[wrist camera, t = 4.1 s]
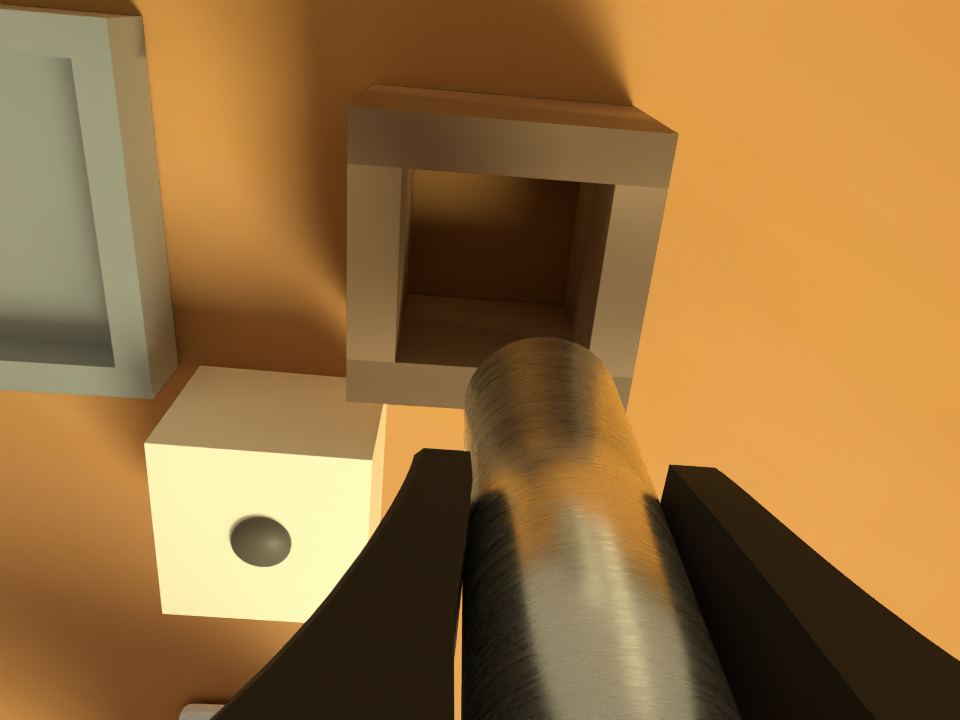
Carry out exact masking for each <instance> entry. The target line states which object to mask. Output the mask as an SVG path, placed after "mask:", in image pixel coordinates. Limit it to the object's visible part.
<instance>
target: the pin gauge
mask: <svg viewBox="0 0 960 720" xmlns="http://www.w3.org/2000/svg"><path fill="white" fill-rule="evenodd" d="M464 451H470V452H471V462H472V476H473V482H472V492H471V502H470V512H469V521H468V531H467V541H466V551H465V560H464V569H463V582H462V693H461V720H742V719H741V716H740V714H739V711H738V709H737V706H736V703H735V701H734V698H733V695H732V693H731V690H730V687H729V685H728V682H727V679H726V677H725V674H724V672H723V669H722V666H721V664H720V661H719V658H718V656H717V653H716V650H715V648H714V645H713V642H712V640H711V637H710V635H709V632H708V629H707V627H706V624H705V621H704V619H703V616H702V613H701V611H700V608H699V605H698V603H697V600H696V597H695V595H694V592H693V590H692V587H691V584H690V582H689V579H688V576H687V574H686V571H685V568H684V566H683V563H682V560H681V558H680V555H679V553H678V550H677V547H676V545H675V542H674V539H673V537H672V534H671V531H670V529H669V526H668V523H667V521H666V518H665V516H664V513H663V510H662V508H661V505H660V502H659V500H658V497H657V494H656V492H655V489H654V486H653V484H652V481H651V479H650V476H649V473H648V471H647V468H646V465H645V463H644V460H643V457H642V455H641V452H640V449H639V447H638V444H637V441H636V439H635V436H634V434H633V431H632V428H631V426H630V423H629V420H628V418H627V415H626V412H625V410H624V407H623V404H622V402H621V399H620V397H619V394H618V391H617V389H616V386H615V383H614V381H613V378H612V376H611V374H610V372H609V371H608V369H607V367H606V366H605V365H604V363H603V362H602V361H601V360H600V359H599V358H598V357H597V356H596V355H595V354H594V353H592V352H591V351H590V350H588V349H587V348H585V347H583V346H581V345H579V344H577V343H575V342H572V341H569V340H566V339H561V338H556V337H533V338H526V339H522V340H519V341H515V342H513V343H510V344H508V345H506V346H504V347H502V348H500V349H498V350H497V351H495V352H494V353H493V354H491V355H490V356H489V357H488V358H487V359H485V360H484V361H483V362H482V363H481V365H480V366H479V367H478V368H477V370H476V371H475V373H474V374H473V376H472V378H471V379H470V382H469V384H468V387H467V390H466V394H465V401H464Z"/></svg>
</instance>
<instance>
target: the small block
mask: <svg viewBox="0 0 960 720" xmlns="http://www.w3.org/2000/svg"><path fill="white" fill-rule="evenodd" d="M386 409H387V404H376V403H360V402H346V377H333V376H321V375H309V374H297V373H285V372H273V371H261V370H249V369H237V368H225V367H213V366H201V365H200V366H199V368H198V369H197V370H196V372H195V373H194V375H193V376H192V377H191V379H190V380H189V382H188V383H187V384H186V386H185V387H184V388H183V390H182V391H181V393H180V394H179V395H178V397H177V398H176V400H175V401H174V402H173V404H172V405H171V407H170V408H169V409H168V411H167V412H166V413H165V415H164V416H163V418H162V419H161V420H160V422H159V423H158V425H157V426H156V427H155V429H154V430H153V431H152V433H151V434H150V436H149V437H148V438H147V440H146V441H145V443H144V447H145V456H146V465H147V475H148V484H149V494H150V503H151V512H152V522H153V531H154V540H155V550H156V559H157V568H158V578H159V587H160V596H161V606H162V614H175V615H191V616H207V617H223V618H239V619H255V620H271V621H287V622H303V623H305V622H306V621H307V620H308V619H309V618H310V616H311V615H312V614H313V613H314V612H315V611H316V609H317V608H318V607H319V606H320V605H321V603H322V602H323V601H324V600H325V599H326V597H327V596H328V595H329V594H330V592H331V591H332V590H333V588H334V587H335V586H336V584H337V583H338V582H339V580H340V579H341V578H342V576H343V575H344V574H345V572H346V571H347V570H348V568H349V567H350V566H351V565H352V563H353V562H354V561H355V559H356V558H357V557H358V555H359V554H360V553H361V551H362V550H363V548H364V547H365V545H366V544H367V542H368V541H369V539H370V538H371V536H372V535H373V533H374V532H375V530H376V528H377V527H378V525H379V524H380V517H381V499H382V481H383V463H384V445H385V427H386Z"/></svg>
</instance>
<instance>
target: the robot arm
mask: <svg viewBox="0 0 960 720" xmlns="http://www.w3.org/2000/svg"><path fill="white" fill-rule="evenodd" d="M472 482H473V476H472V462H471V452H470V451H458V450H443V449H428V448H423V449H422V450H421V451H419V452H418V453H416V454H415V455H414V458H413V461H412V464H411V467H410V469H409V472H408V474H407V476H406V478H405V481H404V483H403V485H402V486H401V488H400V490H399V492H398V494H397V496H396V497H395V499H394V501H393V503H392V505H391V506H390V508H389V510H388V511H387V513H386V514H385V516H384V518H383V519H382V521H381V522H380V524H379V525H378V527H377V528H376V530H375V532H374V533H373V535H372V536H371V538H370V539H369V541H368V542H367V544H366V545H365V547H364V548H363V550H362V551H361V553H360V554H359V555H358V557H357V558H356V559H355V561H354V562H353V563H352V565H351V566H350V567H349V568H348V570H347V571H346V572H345V574H344V575H343V576H342V578H341V579H340V580H339V582H338V583H337V584H336V586H335V587H334V588H333V590H332V591H331V592H330V594H329V595H328V596H327V597H326V599H325V600H324V601H323V602H322V603H321V605H320V606H319V607H318V608H317V609H316V611H315V612H314V613H313V614H312V615H311V616H310V618H309V619H308V620H307V621H306V622H305V623H304V624H303V626H302V627H301V628H300V629H299V630H298V631H297V632H296V633H295V635H294V636H293V637H292V638H291V639H290V640H289V641H288V642H287V643H286V644H285V645H284V646H283V648H282V649H281V650H280V651H279V652H278V653H277V654H276V655H275V656H274V657H273V658H272V659H271V660H270V661H269V662H268V663H267V664H266V665H265V666H264V667H263V668H262V669H261V670H260V671H259V672H258V673H257V674H256V675H255V676H254V677H253V678H252V679H251V680H250V681H249V682H248V683H247V684H246V685H245V686H244V687H243V688H242V689H241V690H240V691H239V692H238V693H237V694H236V695H235V696H234V697H233V698H232V699H231V700H230V701H229V702H228V703H227V704H226V705H218V704H189V705H187V706H185V707H184V708H183V709H182V711H181V714H180V716H179V720H454V656H455V648H456V639H457V629H458V619H459V609H460V600H461V590H462V580H463V569H464V560H465V551H466V541H467V531H468V521H469V512H470V502H471V492H472ZM660 505H661V508H662V510H663V513H664V516H665V518H666V521H667V523H668V526H669V529H670V531H671V534H672V537H673V539H674V542H675V545H676V547H677V550H678V553H679V555H680V558H681V560H682V563H683V566H684V568H685V571H686V574H687V576H688V579H689V582H690V584H691V587H692V590H693V592H694V595H695V597H696V600H697V603H698V605H699V608H700V611H701V613H702V616H703V619H704V621H705V624H706V627H707V629H708V632H709V635H710V637H711V640H712V642H713V645H714V648H715V650H716V653H717V656H718V658H719V661H720V664H721V666H722V669H723V672H724V674H725V677H726V679H727V682H728V685H729V687H730V690H731V693H732V695H733V698H734V701H735V703H736V706H737V709H738V711H739V714H740V716H741V719H742V720H960V661H959V660H957V659H956V658H954V657H953V656H951V655H950V654H948V653H947V652H946V651H944V650H943V649H941V648H940V647H939V646H937V645H936V644H934V643H933V642H931V641H930V640H929V639H927V638H926V637H924V636H923V635H922V634H920V633H919V632H918V631H916V630H915V629H914V628H912V627H911V626H910V625H908V624H907V623H906V622H904V621H903V620H902V619H900V618H899V617H898V616H896V615H895V614H894V613H892V612H891V611H890V610H888V609H887V608H886V607H884V606H883V605H882V604H880V603H879V602H878V601H876V600H875V599H874V598H873V597H871V596H870V595H869V594H867V593H866V592H865V591H864V590H862V589H861V588H860V587H859V586H857V585H856V584H855V583H854V582H852V581H851V580H850V579H849V578H847V577H846V576H845V575H844V574H842V573H841V572H840V571H839V570H837V569H836V568H835V567H834V566H832V565H831V564H830V563H829V562H828V561H826V560H825V559H824V558H823V557H822V556H820V555H819V554H818V553H817V552H816V551H814V550H813V549H812V548H811V547H810V546H808V545H807V544H806V543H805V542H804V541H803V540H801V539H800V538H799V537H798V536H797V535H795V534H794V533H793V532H792V531H791V530H790V529H788V528H787V527H786V526H785V525H784V524H783V523H781V522H780V521H779V520H778V519H777V518H776V517H774V516H773V515H772V514H771V513H770V512H769V511H768V510H766V509H765V508H764V507H763V506H762V505H761V504H759V503H758V502H757V501H756V500H755V499H754V498H752V497H751V496H750V495H749V494H748V493H746V492H745V491H744V490H743V489H742V488H741V487H739V486H738V485H737V484H736V483H734V482H733V481H732V480H731V479H729V478H728V477H727V476H726V475H724V474H723V473H722V472H720V471H719V470H718V469H716V468H711V467H696V466H682V465H669V469H668V473H667V477H666V482H665V486H664V490H663V494H662V499H661V503H660Z"/></svg>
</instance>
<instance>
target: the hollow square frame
mask: <svg viewBox="0 0 960 720" xmlns="http://www.w3.org/2000/svg"><path fill="white" fill-rule="evenodd" d="M677 139H678V133H676V132H675V131H673V130H671V129H670V128H668V127H667V126H665V125H663V124H662V123H660V122H659V121H657V120H656V119H654V118H652V117H651V116H649V115H648V114H646V113H644V112H643V111H641V110H640V109H638V108H636V107H635V106H628V105H616V104H604V103H592V102H580V101H568V100H556V99H544V98H532V97H520V96H508V95H496V94H484V93H472V92H460V91H448V90H436V89H424V88H412V87H400V86H388V85H376V84H372V85H371V86H370V87H369V88H368V89H367V90H366V91H365V92H363V93H362V94H361V95H360V96H359V97H358V98H357V99H356V100H355V101H353V102H352V103H351V104H350V105H349V106H348V107H347V326H346V402H360V403H376V404H393V405H409V406H425V407H441V408H457V409H464V401H465V394H466V390H467V387H468V384H469V382H470V379H471V378H472V376H473V374H474V373H475V371H476V370H477V368H478V367H479V366H480V365H481V363H482V362H483V361H484V360H485V359H487V358H488V357H489V356H490V355H491V354H493V353H494V352H495V351H497V350H498V349H500V348H502V347H504V346H506V345H508V344H510V343H513V342H515V341H519V340H522V339H526V338H533V337H556V338H561V339H566V340H569V341H572V342H575V343H577V344H579V345H581V346H583V347H585V348H587V349H588V350H590V351H591V352H592V353H594V354H595V355H596V356H597V357H598V358H599V359H600V360H601V361H602V362H603V363H604V365H605V366H606V367H607V369H608V371H609V372H610V374H611V376H612V378H613V381H614V383H615V386H616V389H617V391H618V394H619V397H620V399H621V402H622V404H623V407H624V410H625V412H626V409H627V404H628V399H629V393H630V388H631V383H632V377H633V372H634V367H635V362H636V356H637V351H638V346H639V340H640V335H641V330H642V325H643V319H644V314H645V309H646V303H647V298H648V293H649V287H650V282H651V277H652V272H653V266H654V261H655V256H656V250H657V245H658V240H659V235H660V229H661V224H662V219H663V213H664V208H665V203H666V197H667V192H668V187H669V182H670V176H671V171H672V166H673V160H674V155H675V150H676V144H677ZM413 169H421V170H434V171H447V172H460V173H473V174H486V175H498V176H511V177H524V178H537V179H550V180H563V181H575V182H580V187H579V194H578V201H577V209H576V216H575V223H574V230H573V238H572V245H571V252H570V259H569V267H568V274H567V281H566V288H565V296H564V303H563V305H555V304H541V303H526V302H512V301H498V300H483V299H469V298H455V297H440V296H426V295H411V294H408V286H409V262H410V238H411V214H412V190H413Z"/></svg>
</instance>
